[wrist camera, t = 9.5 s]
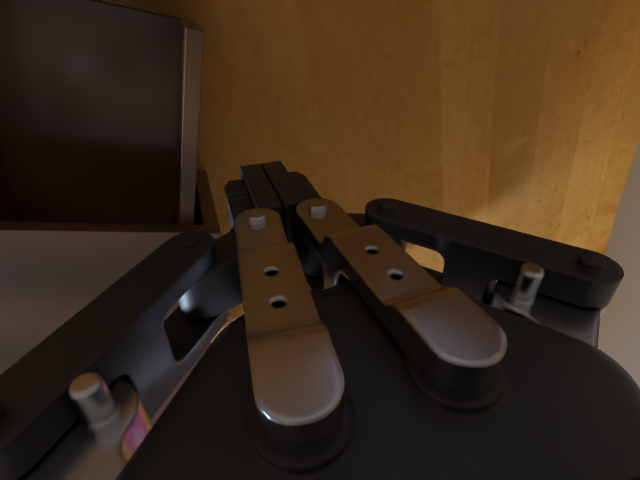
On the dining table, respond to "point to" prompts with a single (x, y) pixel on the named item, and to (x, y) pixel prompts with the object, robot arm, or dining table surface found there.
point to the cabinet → (76, 271)
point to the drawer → (98, 113)
